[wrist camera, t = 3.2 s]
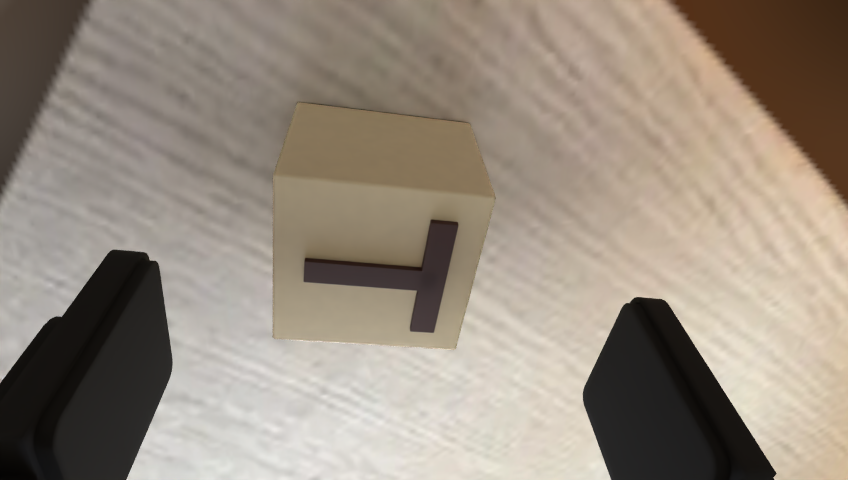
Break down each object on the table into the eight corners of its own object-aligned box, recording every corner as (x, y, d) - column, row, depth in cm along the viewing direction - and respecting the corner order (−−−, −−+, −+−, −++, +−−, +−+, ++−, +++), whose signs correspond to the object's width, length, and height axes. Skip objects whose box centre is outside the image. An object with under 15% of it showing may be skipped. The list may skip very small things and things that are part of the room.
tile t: (293, 245, 17) (271, 343, 13) (296, 100, 14) (271, 177, 11) (441, 258, 17) (456, 354, 14) (470, 122, 15) (498, 200, 11)
